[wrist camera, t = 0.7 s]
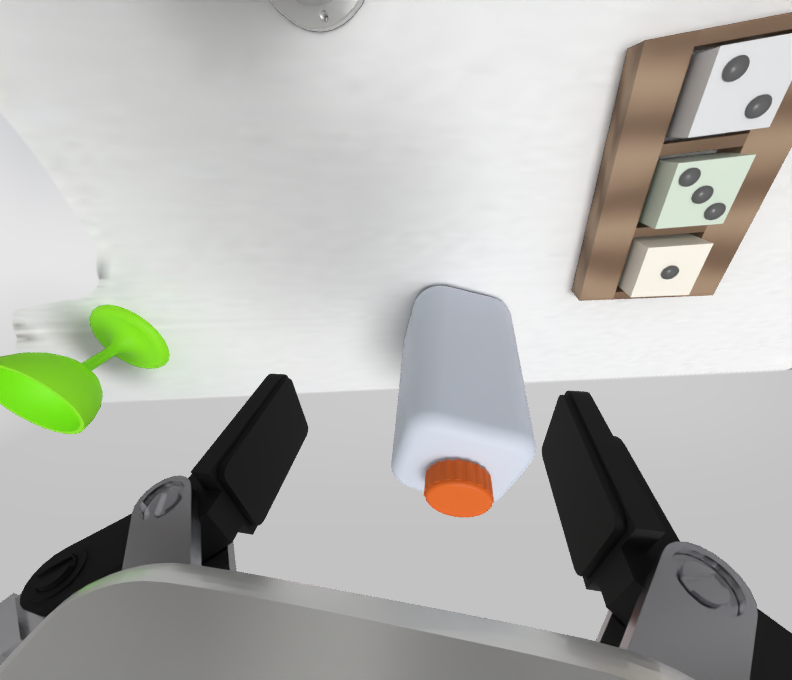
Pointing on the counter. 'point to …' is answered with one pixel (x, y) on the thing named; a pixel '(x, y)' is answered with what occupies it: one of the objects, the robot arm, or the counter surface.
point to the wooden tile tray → (644, 142)
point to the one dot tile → (663, 265)
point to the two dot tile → (733, 88)
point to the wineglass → (77, 372)
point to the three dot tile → (694, 189)
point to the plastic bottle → (461, 403)
